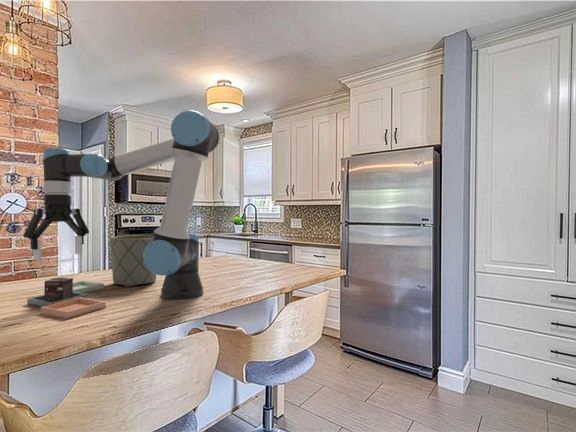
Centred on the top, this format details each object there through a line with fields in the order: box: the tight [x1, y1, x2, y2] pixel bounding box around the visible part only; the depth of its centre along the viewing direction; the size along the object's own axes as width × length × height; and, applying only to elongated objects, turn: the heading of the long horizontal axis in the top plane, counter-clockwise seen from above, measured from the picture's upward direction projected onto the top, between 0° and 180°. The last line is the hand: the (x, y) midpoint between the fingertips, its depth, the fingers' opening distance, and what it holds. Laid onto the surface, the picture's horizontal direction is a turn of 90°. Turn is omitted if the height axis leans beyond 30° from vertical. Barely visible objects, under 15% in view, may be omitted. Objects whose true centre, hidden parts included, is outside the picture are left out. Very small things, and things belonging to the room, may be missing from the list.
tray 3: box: [40, 297, 107, 320], centre depth 105 cm, size 12×12×2 cm
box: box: [43, 277, 74, 302], centre depth 114 cm, size 6×6×7 cm
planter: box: [109, 234, 157, 288], centre depth 145 cm, size 19×19×20 cm
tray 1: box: [26, 292, 89, 308], centre depth 114 cm, size 12×12×2 cm
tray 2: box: [73, 280, 105, 294], centre depth 131 cm, size 12×12×2 cm
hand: (59, 256), depth 114 cm, fingers open, 13 cm apart
